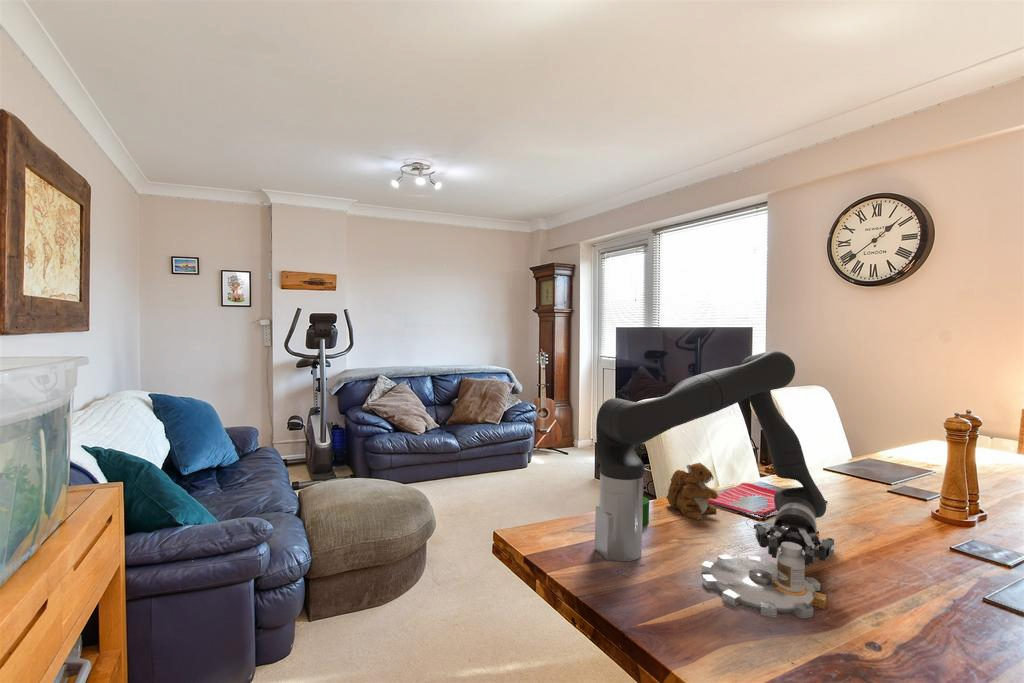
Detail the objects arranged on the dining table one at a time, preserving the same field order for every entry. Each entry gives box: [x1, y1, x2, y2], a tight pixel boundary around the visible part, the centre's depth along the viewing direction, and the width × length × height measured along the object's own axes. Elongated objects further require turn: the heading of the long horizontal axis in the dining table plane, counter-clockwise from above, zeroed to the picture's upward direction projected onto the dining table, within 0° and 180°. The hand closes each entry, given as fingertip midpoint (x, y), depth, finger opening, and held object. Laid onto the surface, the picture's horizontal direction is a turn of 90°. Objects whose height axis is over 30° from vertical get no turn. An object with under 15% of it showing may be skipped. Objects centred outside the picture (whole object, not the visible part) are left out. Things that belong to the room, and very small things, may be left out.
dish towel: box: [707, 482, 778, 518], centre depth 145 cm, size 17×24×3 cm
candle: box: [642, 496, 650, 527], centre depth 130 cm, size 8×8×10 cm
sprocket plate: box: [700, 554, 827, 619], centre depth 97 cm, size 21×21×2 cm
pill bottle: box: [776, 542, 806, 592], centre depth 94 cm, size 4×4×8 cm
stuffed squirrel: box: [665, 462, 719, 521], centre depth 138 cm, size 10×14×13 cm
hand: (790, 556), depth 92 cm, fingers open, 4 cm apart
